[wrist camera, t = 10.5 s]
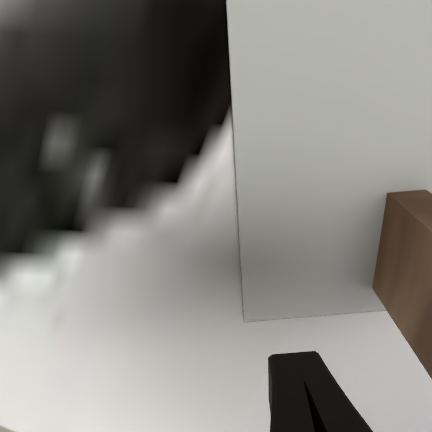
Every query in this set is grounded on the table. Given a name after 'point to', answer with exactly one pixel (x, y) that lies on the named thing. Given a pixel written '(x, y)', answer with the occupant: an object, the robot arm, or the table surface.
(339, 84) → the grey mat
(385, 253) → the domino
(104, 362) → the table surface
